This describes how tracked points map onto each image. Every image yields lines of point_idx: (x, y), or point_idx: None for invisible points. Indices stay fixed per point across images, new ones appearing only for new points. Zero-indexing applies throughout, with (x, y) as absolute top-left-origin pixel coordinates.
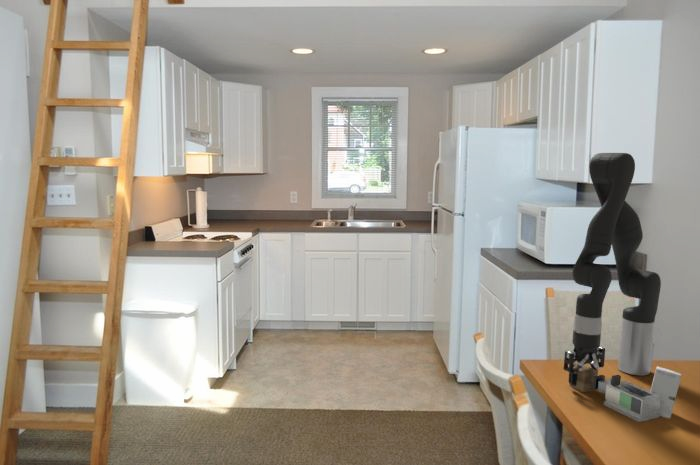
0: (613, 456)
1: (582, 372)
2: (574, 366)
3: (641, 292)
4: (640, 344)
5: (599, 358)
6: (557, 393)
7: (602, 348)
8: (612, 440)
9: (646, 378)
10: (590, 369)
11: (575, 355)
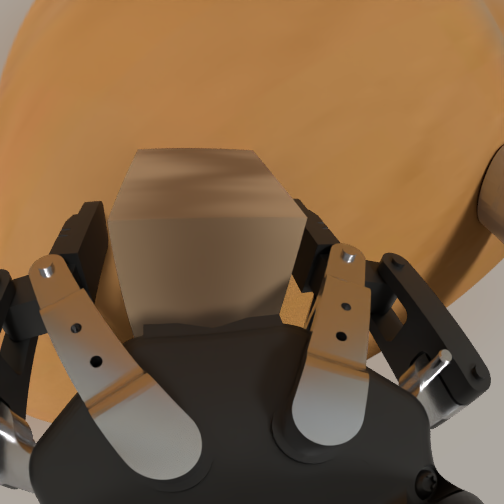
0: (37, 416)
1: (132, 328)
2: (152, 226)
3: None
4: None
5: (395, 340)
6: (7, 218)
7: (432, 427)
8: (54, 408)
9: (469, 235)
10: (244, 316)
11: (69, 438)
